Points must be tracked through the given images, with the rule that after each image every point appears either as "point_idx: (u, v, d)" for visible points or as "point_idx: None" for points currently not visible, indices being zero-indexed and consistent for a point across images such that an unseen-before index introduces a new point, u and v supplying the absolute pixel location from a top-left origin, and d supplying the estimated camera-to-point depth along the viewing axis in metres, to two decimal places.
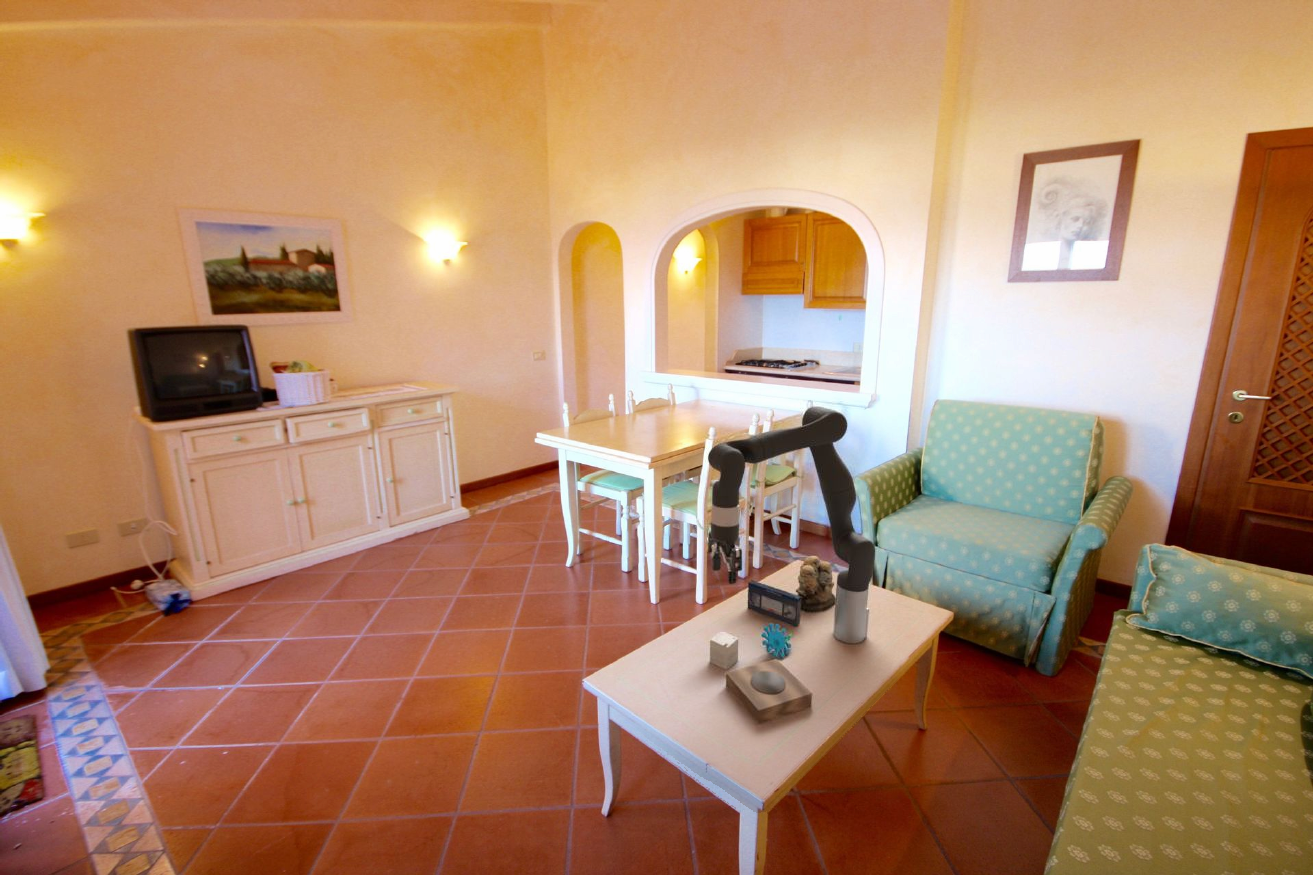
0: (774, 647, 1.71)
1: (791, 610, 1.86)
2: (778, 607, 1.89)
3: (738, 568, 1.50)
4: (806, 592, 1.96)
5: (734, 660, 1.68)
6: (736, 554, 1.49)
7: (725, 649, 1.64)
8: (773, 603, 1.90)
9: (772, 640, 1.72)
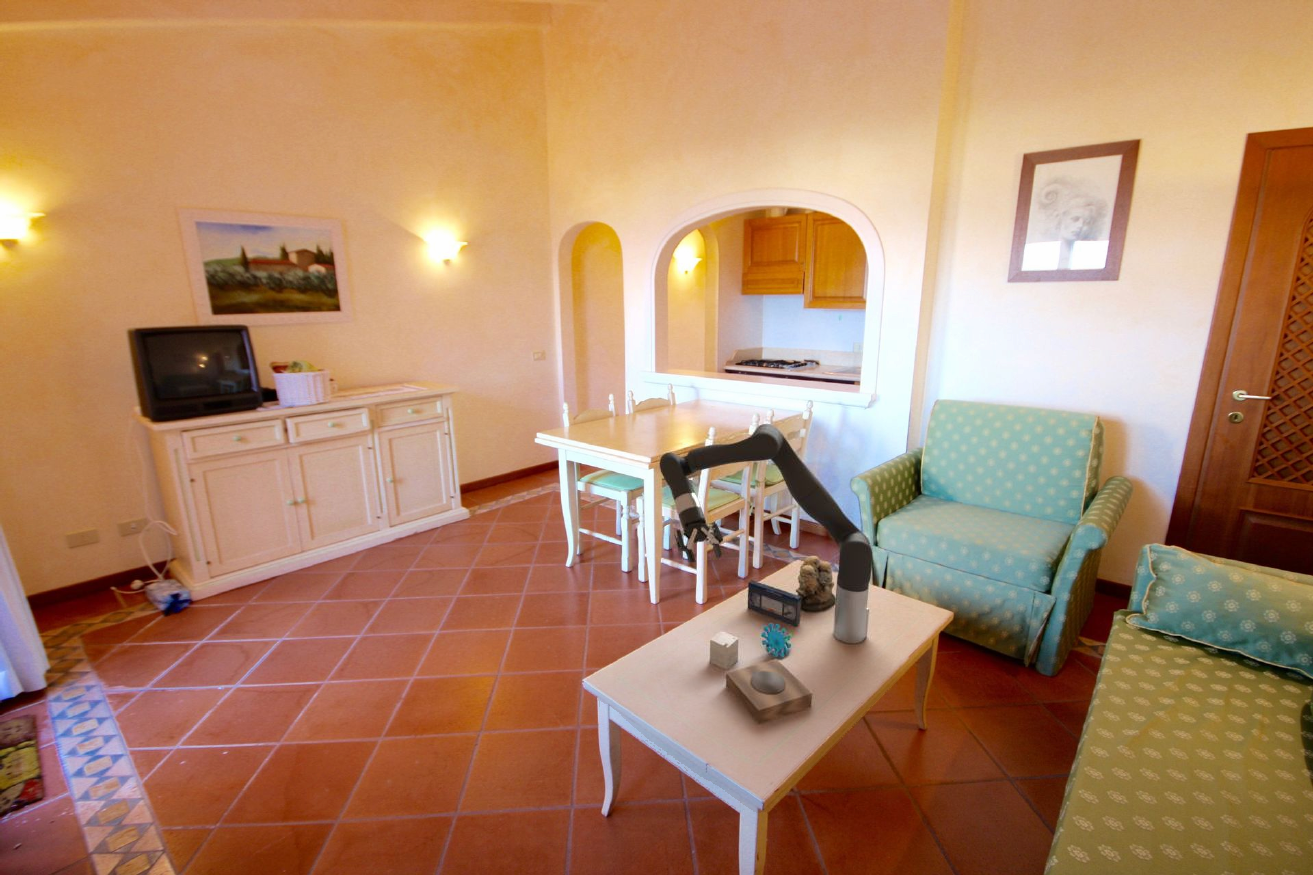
0: (774, 647, 1.71)
1: (791, 610, 1.86)
2: (778, 607, 1.89)
3: (680, 546, 1.73)
4: (806, 592, 1.96)
5: (734, 660, 1.68)
6: (675, 535, 1.75)
7: (725, 649, 1.64)
8: (773, 603, 1.90)
9: (772, 640, 1.72)
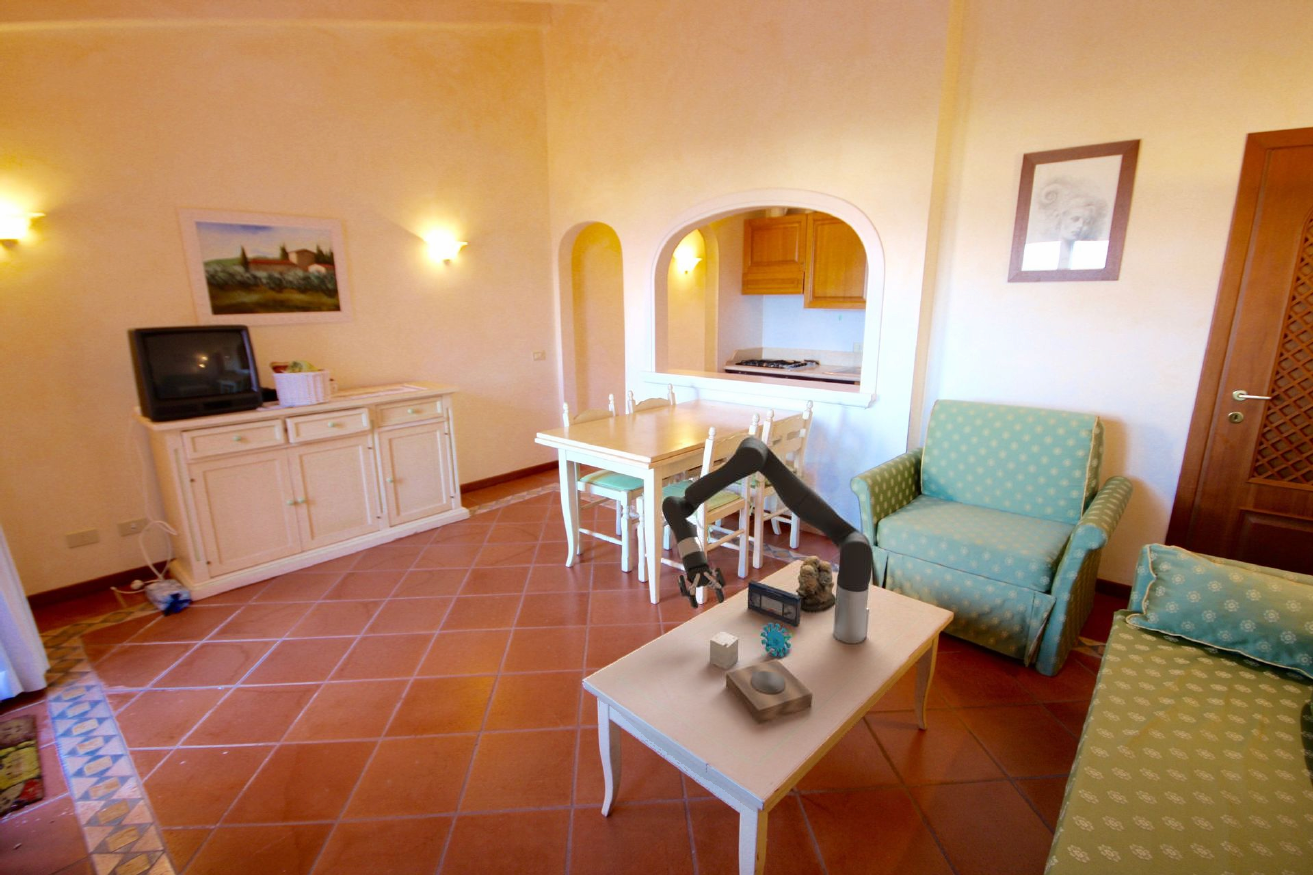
0: (773, 646, 1.71)
1: (791, 610, 1.86)
2: (778, 607, 1.89)
3: (683, 592, 1.75)
4: (806, 592, 1.96)
5: (734, 660, 1.68)
6: (678, 580, 1.77)
7: (725, 649, 1.64)
8: (773, 603, 1.90)
9: (771, 639, 1.72)
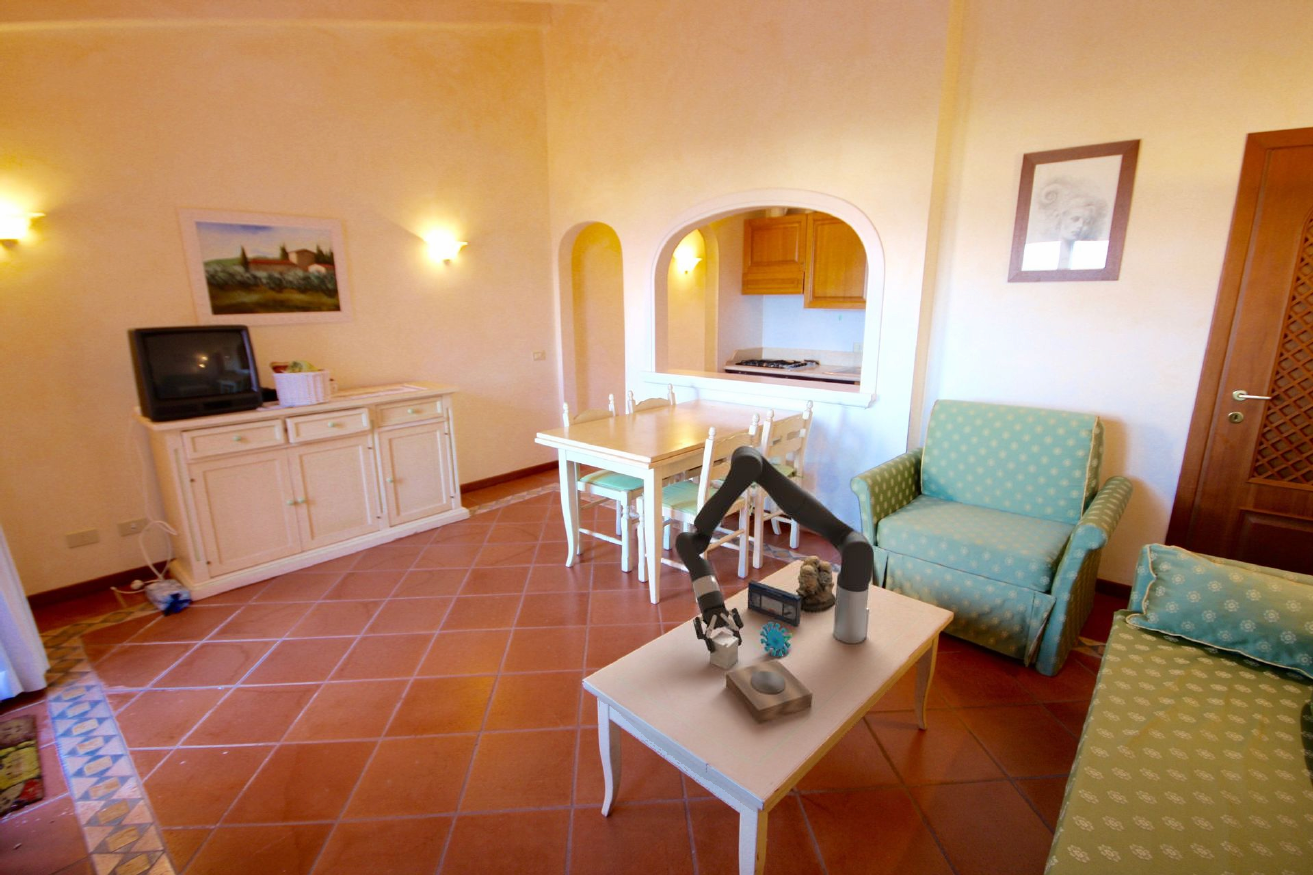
0: (772, 646, 1.71)
1: (791, 610, 1.86)
2: (778, 607, 1.89)
3: (699, 635, 1.67)
4: (806, 592, 1.96)
5: (734, 660, 1.68)
6: (694, 622, 1.69)
7: (725, 649, 1.64)
8: (773, 603, 1.90)
9: (771, 639, 1.72)
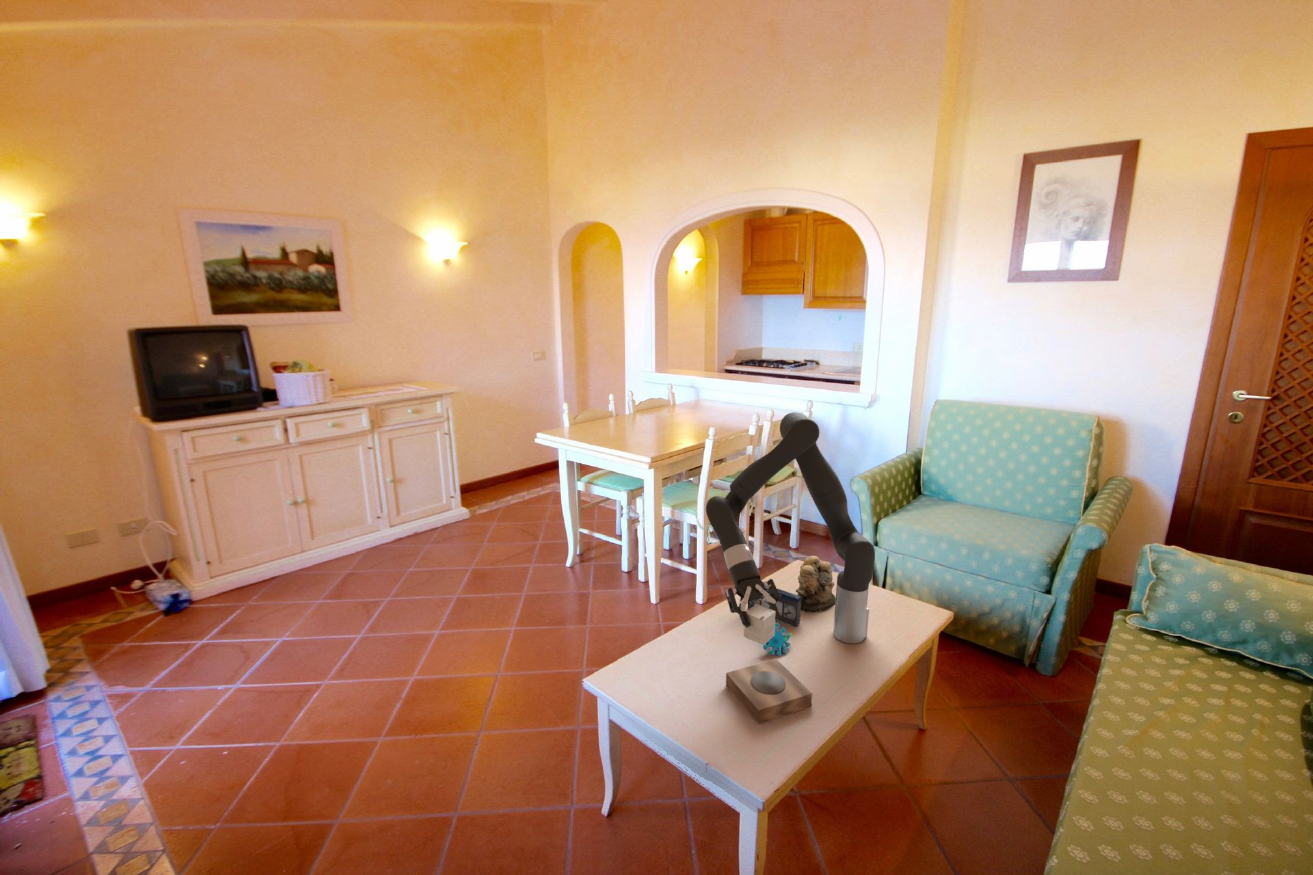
0: (771, 645, 1.72)
1: (791, 610, 1.86)
2: (778, 607, 1.89)
3: (732, 608, 1.52)
4: (806, 592, 1.96)
5: (771, 635, 1.53)
6: (726, 594, 1.54)
7: (762, 623, 1.49)
8: None
9: None
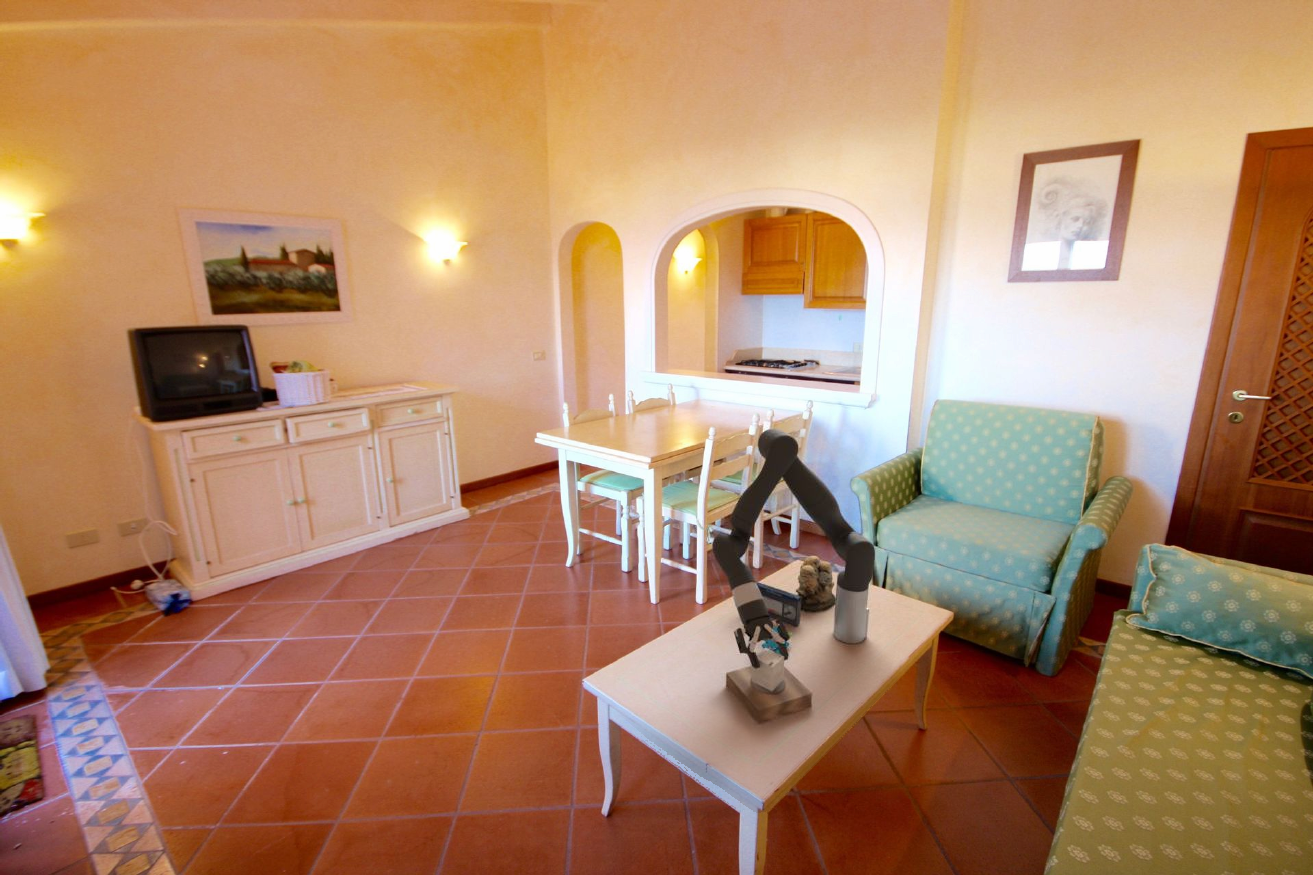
0: (770, 644, 1.72)
1: (791, 610, 1.86)
2: (778, 607, 1.89)
3: (741, 648, 1.50)
4: (806, 592, 1.96)
5: (779, 680, 1.52)
6: (735, 634, 1.53)
7: (770, 669, 1.48)
8: (773, 603, 1.90)
9: None
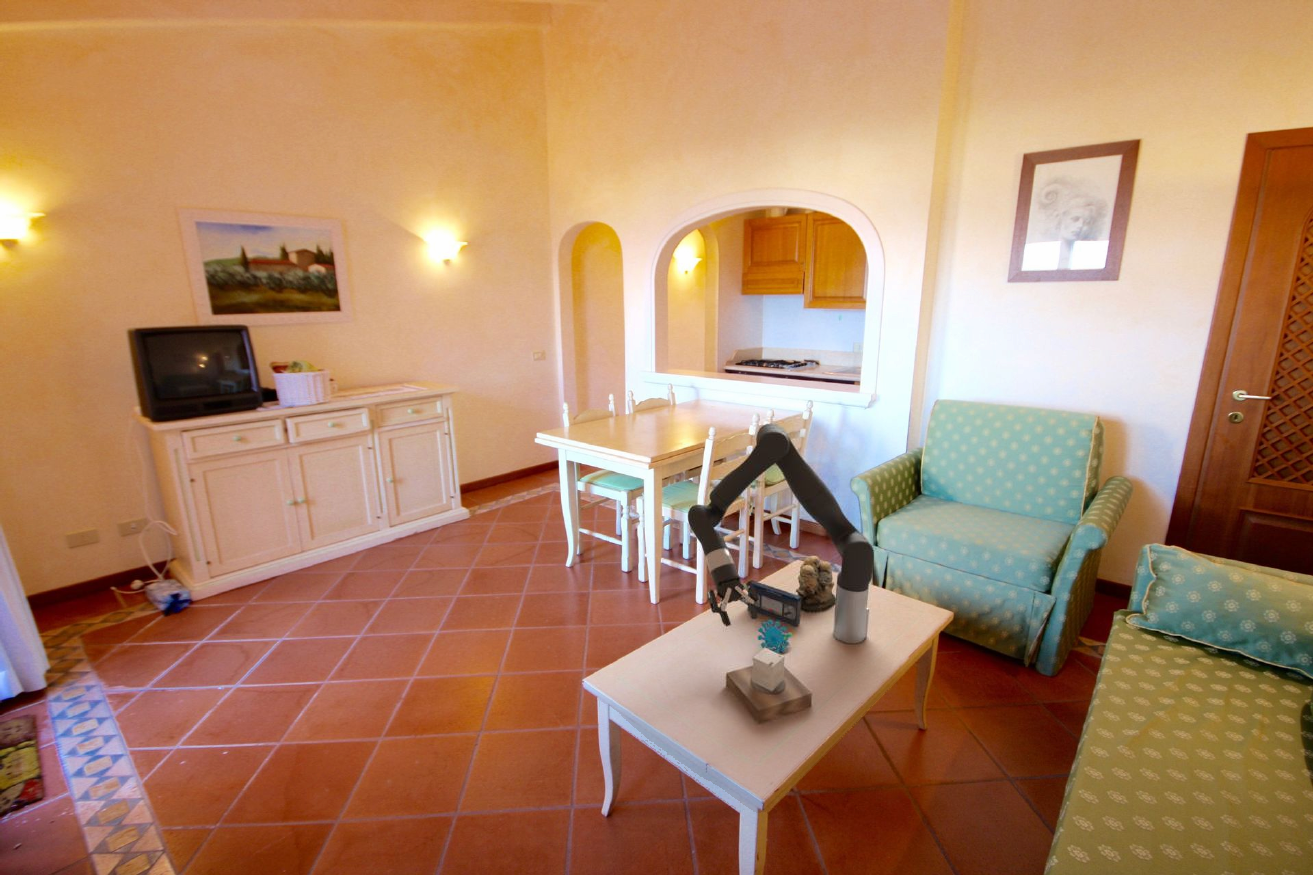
0: (769, 643, 1.73)
1: (791, 610, 1.86)
2: (778, 607, 1.89)
3: (713, 608, 1.63)
4: (806, 592, 1.96)
5: (779, 680, 1.52)
6: (708, 595, 1.65)
7: (770, 669, 1.48)
8: (773, 603, 1.90)
9: (768, 636, 1.74)
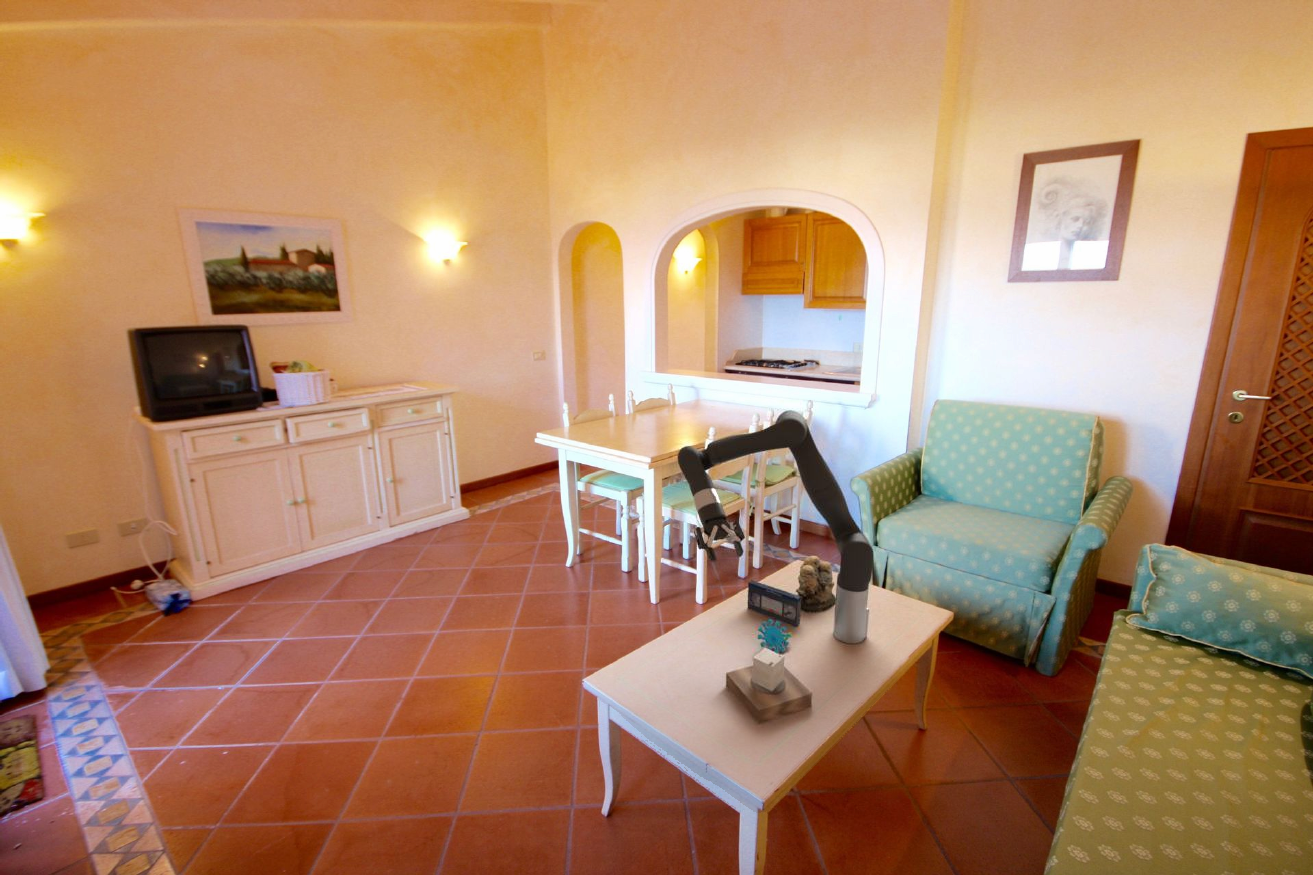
0: (769, 642, 1.73)
1: (791, 610, 1.86)
2: (778, 607, 1.89)
3: (699, 544, 1.65)
4: (806, 592, 1.95)
5: (779, 680, 1.52)
6: (695, 532, 1.67)
7: (770, 669, 1.48)
8: (773, 603, 1.90)
9: (768, 635, 1.74)
